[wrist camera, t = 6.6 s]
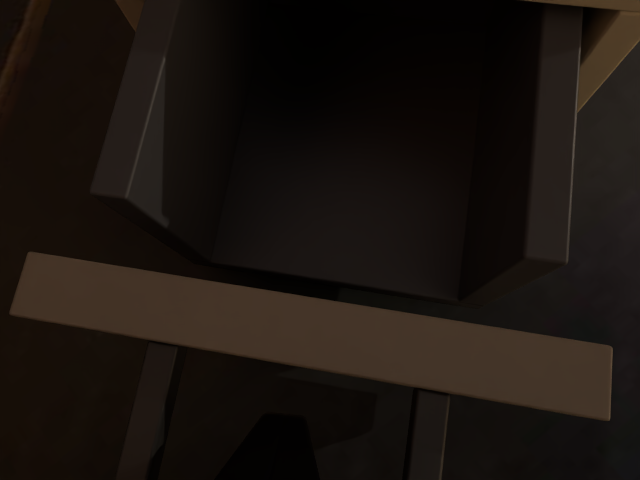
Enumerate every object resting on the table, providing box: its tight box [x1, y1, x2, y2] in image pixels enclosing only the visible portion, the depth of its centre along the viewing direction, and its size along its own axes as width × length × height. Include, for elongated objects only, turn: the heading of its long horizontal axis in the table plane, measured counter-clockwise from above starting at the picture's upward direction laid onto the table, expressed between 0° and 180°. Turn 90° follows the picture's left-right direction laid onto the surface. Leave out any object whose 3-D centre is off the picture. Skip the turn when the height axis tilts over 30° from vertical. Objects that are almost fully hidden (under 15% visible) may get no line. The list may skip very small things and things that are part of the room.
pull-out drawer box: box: [9, 0, 613, 480], centre depth 13 cm, size 17×10×7 cm, turn 170°
